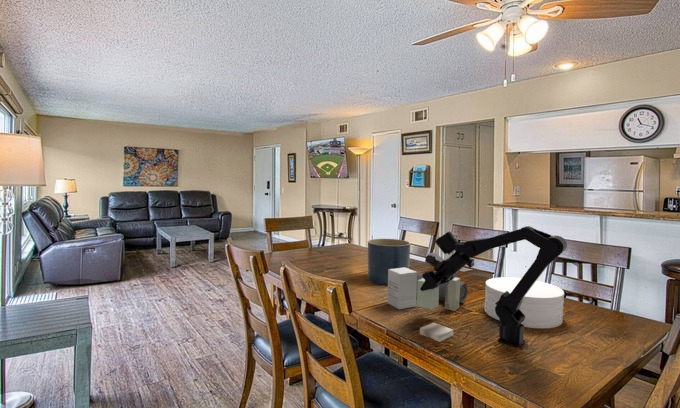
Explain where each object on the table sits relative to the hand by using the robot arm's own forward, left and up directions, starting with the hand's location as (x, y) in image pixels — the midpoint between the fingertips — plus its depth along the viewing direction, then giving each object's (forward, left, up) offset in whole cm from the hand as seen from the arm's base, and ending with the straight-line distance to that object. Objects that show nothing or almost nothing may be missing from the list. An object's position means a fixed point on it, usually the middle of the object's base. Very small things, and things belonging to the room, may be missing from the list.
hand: (424, 288), depth 142 cm
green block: (-1, 0, -7) cm, 7 cm away
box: (-1, -17, -12) cm, 21 cm away
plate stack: (-22, -34, -12) cm, 43 cm away
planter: (+45, -29, -12) cm, 55 cm away
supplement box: (+15, -4, -12) cm, 19 cm away
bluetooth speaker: (+10, -24, -12) cm, 29 cm away
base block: (-12, +10, -12) cm, 20 cm away
